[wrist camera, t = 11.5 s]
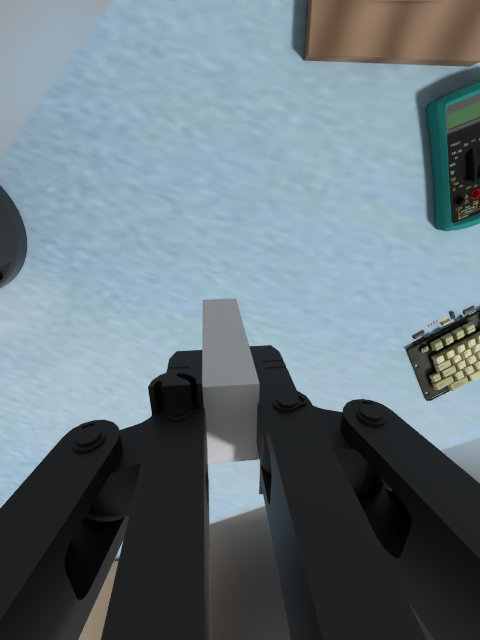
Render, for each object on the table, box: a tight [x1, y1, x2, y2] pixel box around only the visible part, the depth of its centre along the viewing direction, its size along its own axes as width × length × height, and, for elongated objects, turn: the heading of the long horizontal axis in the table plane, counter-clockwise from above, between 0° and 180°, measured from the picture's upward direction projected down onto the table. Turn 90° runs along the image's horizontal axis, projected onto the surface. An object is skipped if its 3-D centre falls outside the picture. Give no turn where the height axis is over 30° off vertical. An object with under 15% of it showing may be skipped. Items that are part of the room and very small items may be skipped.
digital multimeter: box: [426, 82, 480, 231], centre depth 35 cm, size 7×15×3 cm, turn 20°
